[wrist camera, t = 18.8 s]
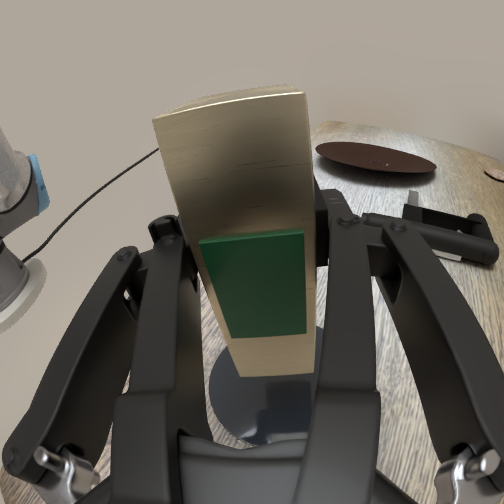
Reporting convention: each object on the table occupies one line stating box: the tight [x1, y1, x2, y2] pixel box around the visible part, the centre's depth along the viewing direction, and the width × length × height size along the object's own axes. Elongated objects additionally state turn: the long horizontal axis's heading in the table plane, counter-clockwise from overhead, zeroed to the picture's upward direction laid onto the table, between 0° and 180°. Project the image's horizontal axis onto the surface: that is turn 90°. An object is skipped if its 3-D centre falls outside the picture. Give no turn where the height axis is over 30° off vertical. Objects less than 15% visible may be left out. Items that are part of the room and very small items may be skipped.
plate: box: [315, 142, 437, 172], centre depth 53 cm, size 28×28×4 cm
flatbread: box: [484, 168, 504, 181], centre depth 44 cm, size 8×8×1 cm
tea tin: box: [152, 85, 317, 377], centre depth 12 cm, size 6×4×13 cm, turn 177°
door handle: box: [361, 190, 499, 265], centre depth 32 cm, size 3×20×16 cm
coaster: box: [209, 326, 324, 447], centre depth 20 cm, size 12×12×1 cm
